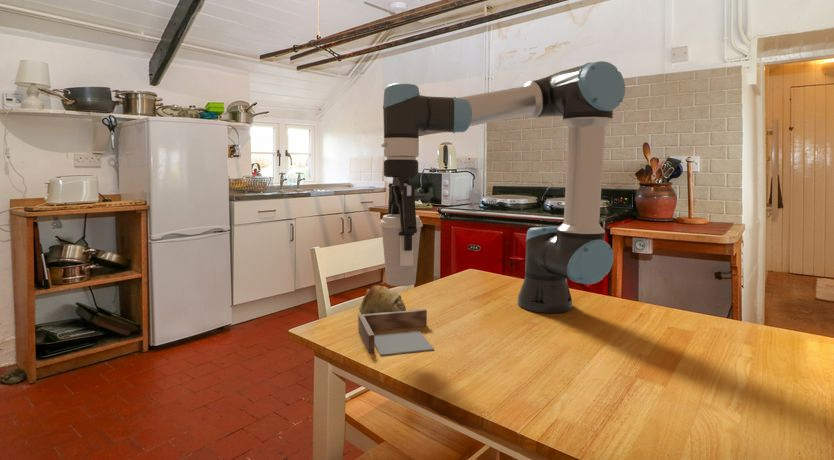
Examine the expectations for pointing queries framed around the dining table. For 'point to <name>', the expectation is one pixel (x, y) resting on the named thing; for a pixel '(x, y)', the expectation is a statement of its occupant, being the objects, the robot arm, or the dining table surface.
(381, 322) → the walnut corner walls
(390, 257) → the coffee cup
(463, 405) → the dining table surface
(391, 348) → the pad
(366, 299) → the pastry
